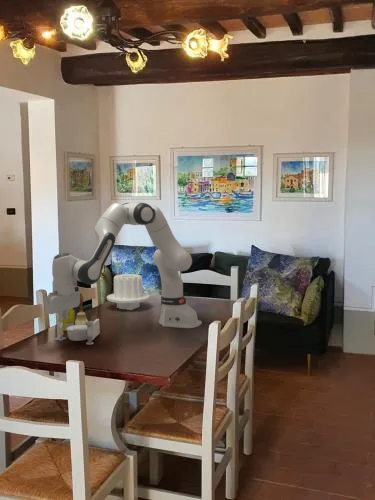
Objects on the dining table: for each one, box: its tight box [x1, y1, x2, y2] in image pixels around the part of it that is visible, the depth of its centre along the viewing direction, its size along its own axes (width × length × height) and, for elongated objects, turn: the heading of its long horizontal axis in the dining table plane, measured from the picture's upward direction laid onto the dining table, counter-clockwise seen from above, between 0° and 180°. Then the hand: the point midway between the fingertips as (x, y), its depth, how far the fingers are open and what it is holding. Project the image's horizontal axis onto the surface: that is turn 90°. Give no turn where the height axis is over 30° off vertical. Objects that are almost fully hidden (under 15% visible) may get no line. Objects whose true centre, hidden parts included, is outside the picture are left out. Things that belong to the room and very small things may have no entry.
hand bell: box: [75, 292, 90, 325], centre depth 283 cm, size 8×8×16 cm
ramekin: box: [66, 325, 87, 342], centre depth 257 cm, size 11×11×5 cm
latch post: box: [53, 321, 67, 341], centre depth 255 cm, size 5×4×8 cm
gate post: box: [85, 325, 94, 346], centre depth 248 cm, size 3×3×8 cm
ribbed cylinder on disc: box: [106, 273, 151, 311], centre depth 320 cm, size 25×25×19 cm
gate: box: [86, 318, 100, 341], centre depth 253 cm, size 16×3×9 cm, turn 174°
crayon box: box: [58, 308, 76, 332], centre depth 270 cm, size 7×3×12 cm, turn 86°
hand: (63, 319), depth 246 cm, fingers closed
